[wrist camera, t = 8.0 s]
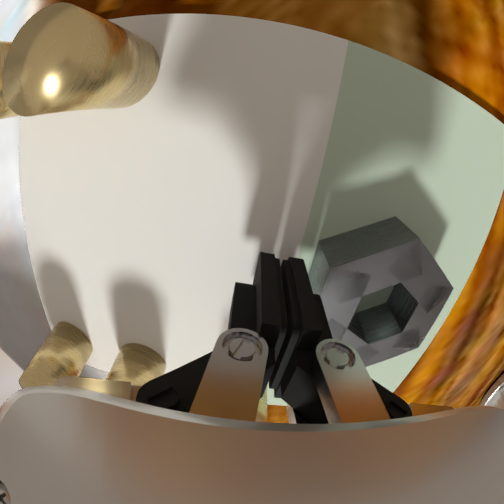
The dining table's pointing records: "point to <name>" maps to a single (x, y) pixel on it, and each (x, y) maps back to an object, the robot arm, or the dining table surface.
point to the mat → (246, 180)
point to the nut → (379, 288)
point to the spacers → (73, 99)
